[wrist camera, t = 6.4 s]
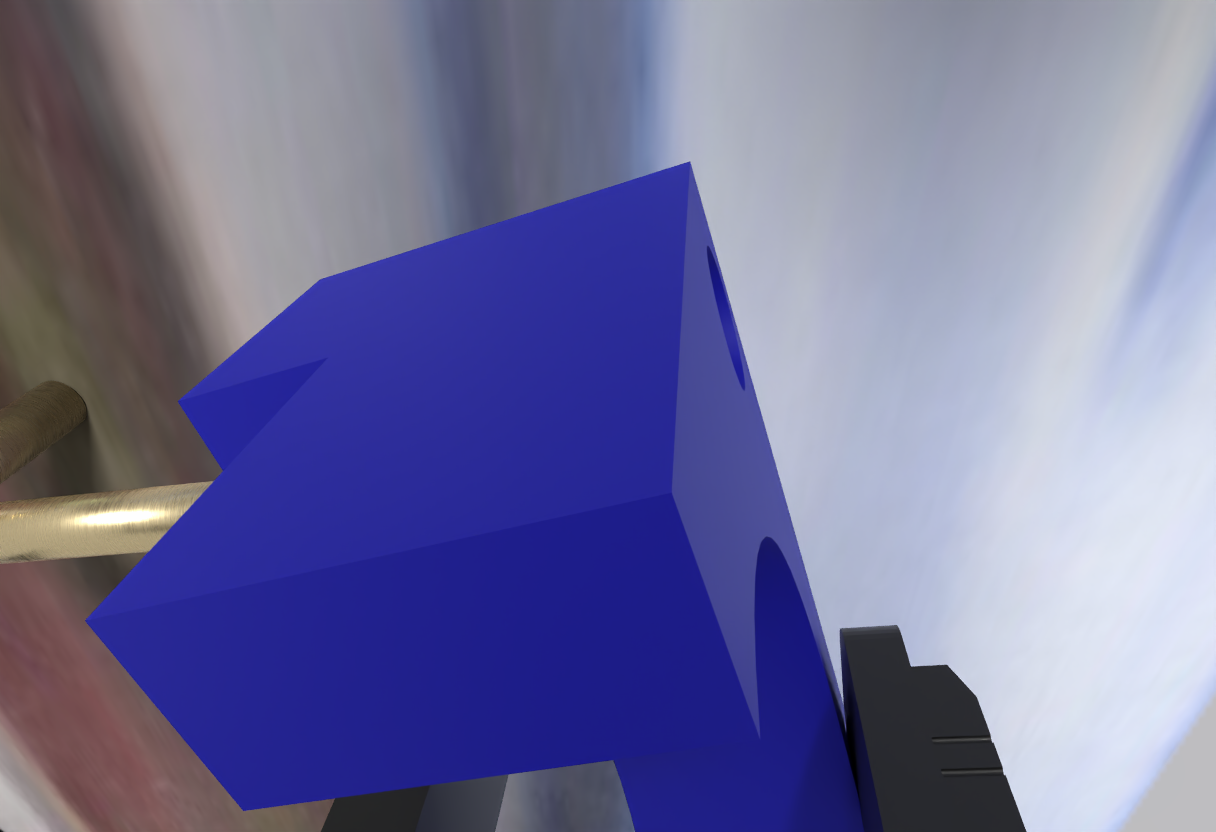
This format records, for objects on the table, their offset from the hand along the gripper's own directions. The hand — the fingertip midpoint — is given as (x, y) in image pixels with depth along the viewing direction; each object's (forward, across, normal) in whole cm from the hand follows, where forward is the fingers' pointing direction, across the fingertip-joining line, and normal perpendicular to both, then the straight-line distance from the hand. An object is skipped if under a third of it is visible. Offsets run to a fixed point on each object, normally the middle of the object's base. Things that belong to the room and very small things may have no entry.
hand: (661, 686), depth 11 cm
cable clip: (+1, 0, -1) cm, 1 cm away
